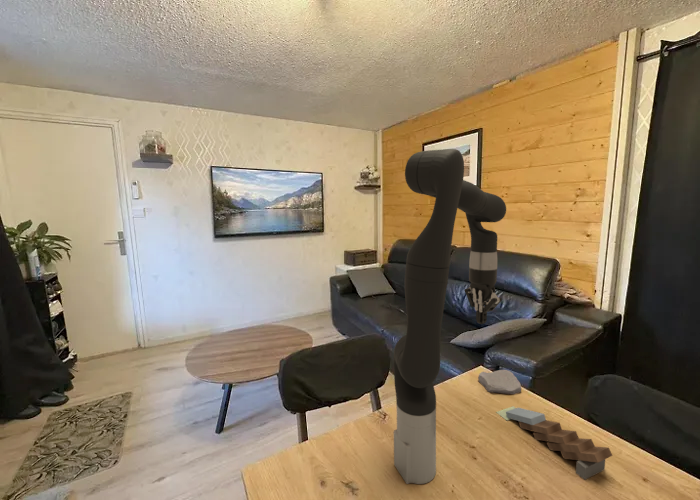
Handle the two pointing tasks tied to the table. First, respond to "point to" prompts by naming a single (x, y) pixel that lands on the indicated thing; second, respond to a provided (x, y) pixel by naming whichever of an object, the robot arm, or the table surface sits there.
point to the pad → (503, 412)
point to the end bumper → (589, 468)
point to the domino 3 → (557, 436)
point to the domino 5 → (589, 454)
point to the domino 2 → (542, 427)
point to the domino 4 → (572, 445)
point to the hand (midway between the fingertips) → (481, 322)
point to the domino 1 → (525, 416)
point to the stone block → (500, 382)
